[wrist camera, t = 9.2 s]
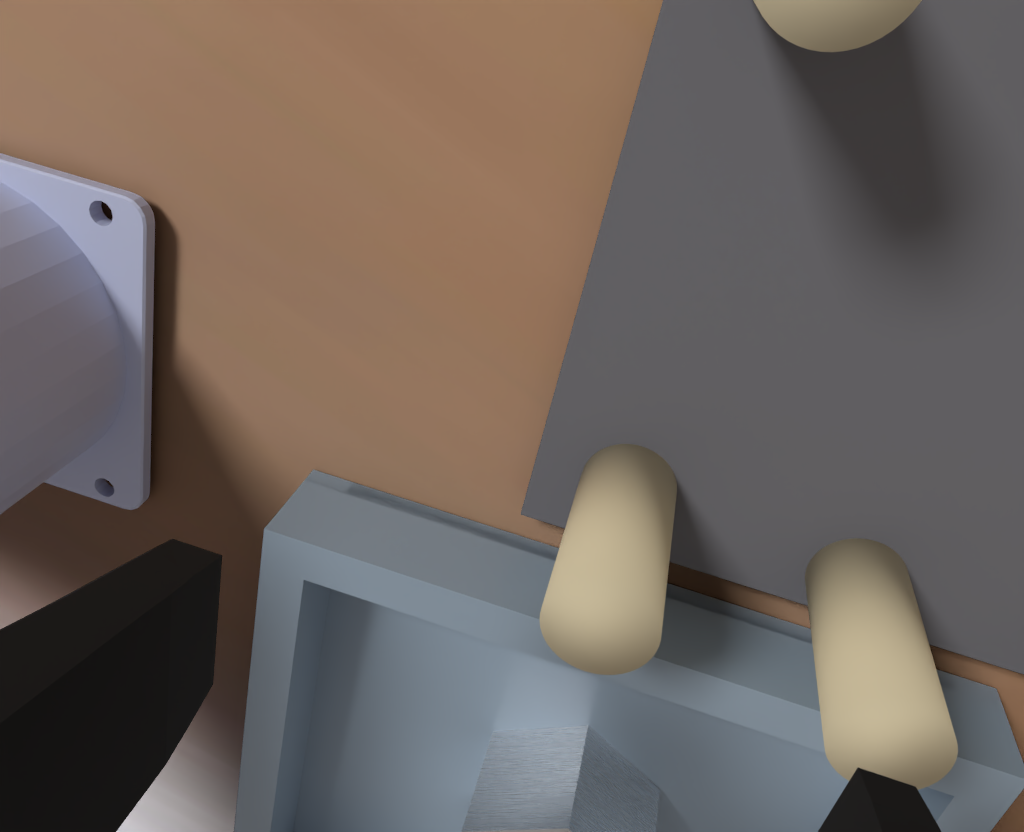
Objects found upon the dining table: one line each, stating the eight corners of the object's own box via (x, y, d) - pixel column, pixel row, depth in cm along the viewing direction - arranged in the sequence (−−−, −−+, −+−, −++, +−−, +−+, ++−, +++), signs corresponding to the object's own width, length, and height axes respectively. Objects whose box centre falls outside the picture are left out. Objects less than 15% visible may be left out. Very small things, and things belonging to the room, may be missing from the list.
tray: (266, 836, 27) (226, 911, 25) (313, 469, 21) (264, 528, 18) (767, 1018, 26) (770, 1114, 24) (996, 688, 19) (1029, 780, 17)
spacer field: (526, 499, 20) (466, 654, 15) (717, -185, 13) (708, -259, 9) (1162, 701, 18) (1298, 933, 14) (1703, 51, 12) (2261, 101, 8)
